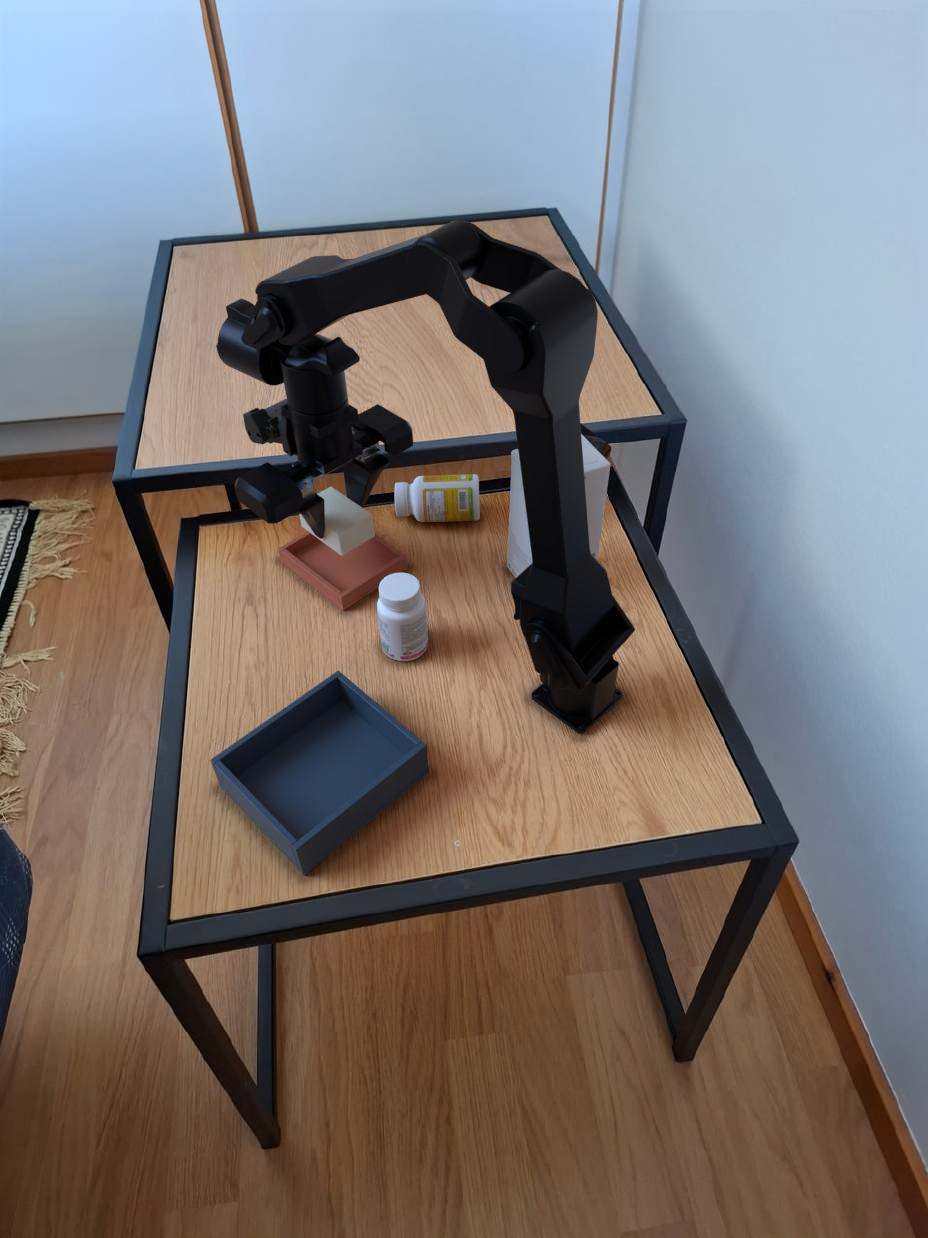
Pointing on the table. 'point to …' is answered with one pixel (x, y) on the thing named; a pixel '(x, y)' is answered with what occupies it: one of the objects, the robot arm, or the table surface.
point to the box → (321, 769)
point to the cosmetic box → (595, 502)
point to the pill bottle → (402, 617)
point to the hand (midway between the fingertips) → (337, 525)
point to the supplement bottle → (439, 498)
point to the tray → (342, 567)
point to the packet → (343, 522)
